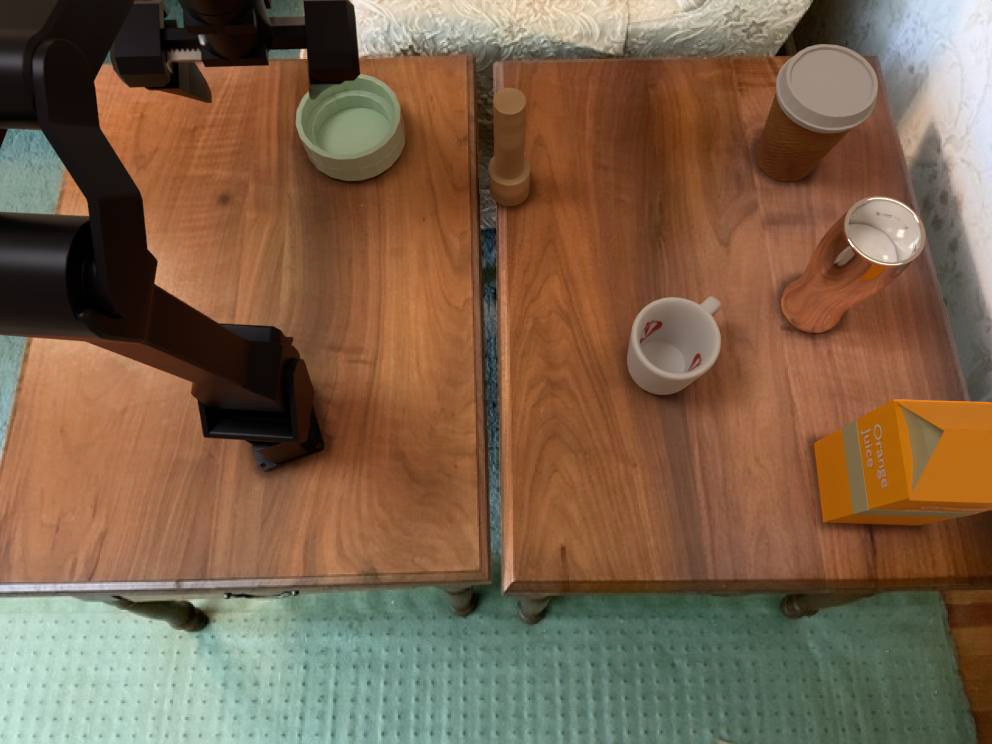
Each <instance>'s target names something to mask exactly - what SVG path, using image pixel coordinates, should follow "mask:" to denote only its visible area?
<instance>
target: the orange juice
mask: <svg viewBox="0 0 992 744" xmlns="http://www.w3.org/2000/svg"><path fill="white" fill-rule="evenodd" d="M813 447H814V456H815V465H816V472H817V473H816V474H817V481H818V490H819V499H820V507H821V516H822V522H823V523H831V524H834V523H835V524H859V525H860V524H863V525H889V526H893V525H894V526H897V525H898V526H917V527H919V526H923V525H927V524H932V523H937V522H941V521H947V520H952V519H956V518H957V519H958V518H964V517H967V516H973V515H978V514H980V513H984V512H989V511H992V401H970V400H969V401H967V400H966V401H965V400H960V401H959V400H936V399H935V400H934V399H900V398H899V399H898V398H897V399H895V398H892V399H891V400H889V401H888V402H886V403H884V404H882V405H881V406H879V407H877V408H875V409H873V410H871V411H869V412H867V413H866V414H864V415H863V416H860V417H859V418H856V419H854V420H852V421H850V422H848V423H846V424H844V425H843V426H842V427H841V428H839V429H837V430H835V431H833V432H832V433H830V434H828V435H826V436H824V437H823V438H821V439H819V440H817V441H816V442H814V443H813Z"/></svg>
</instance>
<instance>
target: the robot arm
mask: <svg viewBox="0 0 992 744" xmlns="http://www.w3.org/2000/svg"><path fill="white" fill-rule="evenodd" d="M177 2H178V4H179V5H180V8H181V9H182V18H183V19H182V21H183V27H180V26H179V23H178V20H177V19H165V18H167V17H168V8H167V6H166V4H165V2H164V0H0V149H2V146H3V143H4V142H5V141H4V140H5V138H6V135H7V133H8V130H22V131H24V130H25V131H27V130H28V131H41V132H42V134H43V135H44V137H45V138H46V140H47V142H48V143H49V145H50V146H51V148H52V149H53V150H54V152H55V154H56V155H57V157H58V158H59V160H60V161H61V163H62V164H63V166H64V167H65V169H66V171H67V172H68V173H69V175H70V176H71V177H70V178H72V180H73V181H74V183H75V185H76V186H77V188H78V189H79V190H80V192H81V194H82V195H83V196H84V198H85V200H86V203H87V210H88V211H87V212H88V215H77V214H76V215H75V214H57V213H56V214H54V213H36V212H34V213H33V212H16V211H15V212H13V211H0V336H9V337H17V338H19V337H20V338H34V339H47V340H59V341H73V342H85V343H88V344H91V345H93V346H95V347H98V348H101V349H104V350H107V351H109V352H111V353H114V354H117V355H119V356H122V357H124V358H127V359H130V360H132V361H135V362H138V363H140V364H143V365H146V366H148V367H151V368H154V369H156V370H159V371H162V372H164V373H166V374H169V375H172V376H175V377H178V378H180V379H183V380H185V381H188V382H190V383H191V389H190V394H191V395H192V397H194V399H196V400H197V407H198V412H199V419H200V424H201V429H202V435H203V438H204V439H217V440H219V439H220V440H233V441H234V440H235V441H236V440H237V441H245V442H247V443H248V444H250V445H252V449H253V452H254V457H255V460H256V461H255V462H256V464H257V468H258V470H260V471H261V472H268V471H270V470H273V469H276V468H278V467H279V468H280V467H283V466H285V465H287V464H290V463H294V462H296V461H298V460H301V459H304V458H308V457H309V456H313V455H316V454H318V453H321V452H323V451H324V450H325V448H326V443H325V440H324V437H323V432H322V430H321V426H320V423H319V420H318V416H317V413H316V410H315V409H316V408H315V406H314V399H315V389H314V387H313V384H312V380H311V376H310V373H309V369H308V366H307V364H306V362H305V360H304V359H303V358H301V354H300V352H299V350H298V349H297V348H296V347H295V345H293V342H294V336H286V335H285V333H284V332H283V330H281V329H280V328H278V327H276V326H275V325H261V324H259V325H258V324H240V323H221V322H218V321H216V320H214V319H213V318H211V317H209V316H208V315H206V314H204V313H203V312H201V311H200V310H199V309H196V308H195V307H193V306H191V305H190V304H188V303H187V302H185V301H183V300H182V299H180V298H178V297H177V296H175V295H174V294H172V293H170V292H169V291H167V290H165V289H164V288H162V287H161V286H159V285H157V284H156V283H155V282H156V277H157V271H158V263H159V261H158V259H157V258H156V256H155V255H154V254H153V253H152V252H151V251H150V250H149V249H148V238H147V230H146V220H145V219H146V217H145V208H144V198H143V195H142V193H141V190H140V189H139V186H137V184H136V182H135V181H134V179H133V178H132V176H131V174H130V173H129V172H128V170H127V168H126V167H125V165H124V163H123V162H122V160H121V159H120V157H119V155H118V154H117V153H116V151H115V149H114V148H113V146H112V145H111V143H110V141H109V140H108V138H107V137H106V135H105V134H104V132H103V130H102V128H101V125H100V116H99V115H100V114H99V109H98V108H99V107H98V98H97V89H96V85H95V84H96V83H95V80H96V79H97V77H98V75H99V73H100V71H101V68H102V66H104V65H103V64H104V63H105V61H106V58H107V57H108V55H109V59H110V63H111V66H112V69H113V71H114V72H115V74H116V75H117V77H118V78H119V79H120V81H121V82H122V83H124V84H125V85H126V86H127V87H128V88H131V89H132V88H133V89H134V88H144V89H146V90H147V91H153V92H154V91H156V92H163V93H166V94H167V93H168V94H171V95H176V96H181V97H184V98H188V99H191V100H195V101H198V102H202V103H205V104H212V103H213V96H212V90H211V88H210V85H209V84H208V81H207V79H206V78H205V76H204V75H203V72H202V71H201V70H200V68H199V67H198V65H197V64H196V63H200V62H201V63H202V64H203V66H204V68H224V67H225V68H228V67H229V68H230V67H231V68H232V67H262V66H263V67H265V66H268V67H269V66H270V59H269V52H270V51H283V50H285V51H287V50H306V65H307V66H306V67H307V68H306V69H307V87H308V91H309V97H310V99H311V100H315V99H316V98H317V97H318V96H319V95H320V94H321V93H322V92H323V91H324V90H326V89H328V88H329V87H331V86H333V85H340V84H342V83H343V82H344V81H354V80H355V79H356V78H357V77H358V76H359V75H360V74H361V65H360V52H359V41H358V39H359V38H358V28H357V27H358V26H357V17H356V10H355V9H356V8H355V5H354V4H353V2H351V0H303V2H302V3H303V13H304V14H303V15H302V16H299V15H298V16H269V13H268V10H272V8H273V6H272V0H177ZM319 445H321V447H319ZM318 447H319V448H318ZM263 465H265V466H264V467H263Z"/></svg>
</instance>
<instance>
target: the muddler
mask: <svg viewBox="0 0 992 744" xmlns="http://www.w3.org/2000/svg"><path fill="white" fill-rule="evenodd" d="M492 107H493V140H494V141H493V143H494V145H493V146H494V154H493V156H492V157H491V159H490V161H489V163H488V166H487V169H488V188H489V189H488V190H489V191H488V192H489V195H490V197H491V199H492V200H493V201H494V202H495V203H496V204H498V205H500V206H502V207H515V206H519V205H520V204H522V203H523V202H525V201H526V199H527V198H528V196H529V194H530V188H531V187H530V184H531V163H530V160H529V159H528V157H527V156H526V154H525V146H526V145H525V143H526V118H527V114H526V113H527V98H526V95H525V93H524V92H522V91H521V90H520V89H519V88H518V89H517V88H516V87H505V88H502V89H500V90H499V91H497V92H496V93H495V95H494V97H493V100H492Z"/></svg>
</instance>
